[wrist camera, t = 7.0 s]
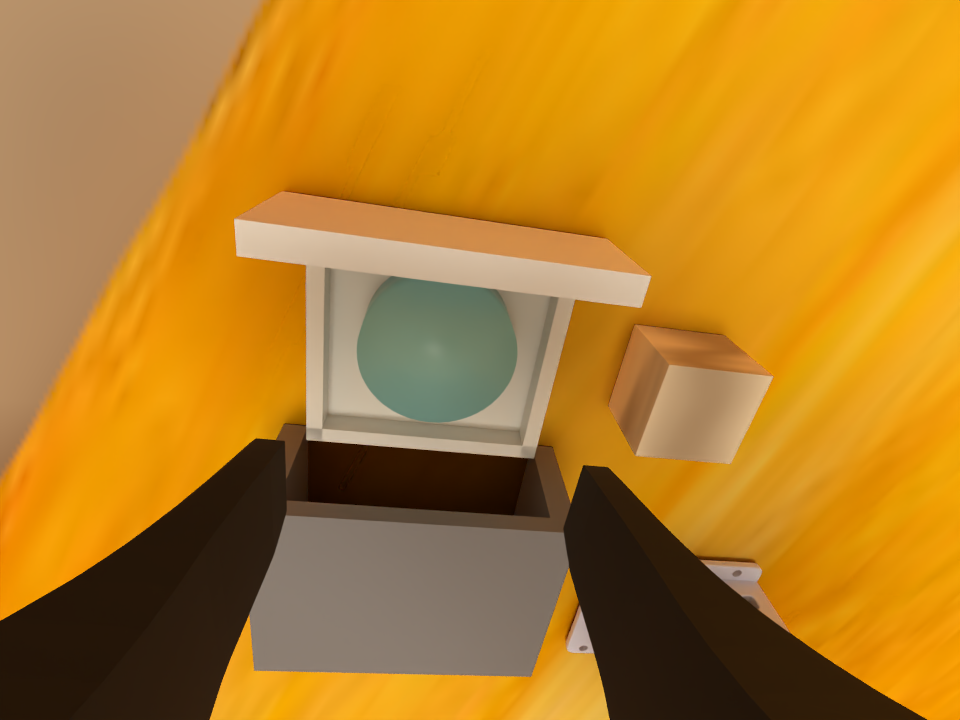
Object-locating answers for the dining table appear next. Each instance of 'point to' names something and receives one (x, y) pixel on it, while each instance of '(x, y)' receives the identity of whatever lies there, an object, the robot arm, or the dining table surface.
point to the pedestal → (686, 394)
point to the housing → (411, 581)
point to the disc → (436, 348)
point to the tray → (441, 258)
